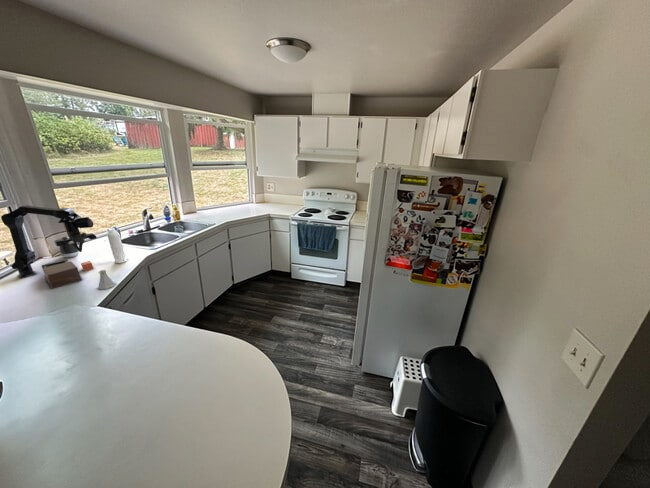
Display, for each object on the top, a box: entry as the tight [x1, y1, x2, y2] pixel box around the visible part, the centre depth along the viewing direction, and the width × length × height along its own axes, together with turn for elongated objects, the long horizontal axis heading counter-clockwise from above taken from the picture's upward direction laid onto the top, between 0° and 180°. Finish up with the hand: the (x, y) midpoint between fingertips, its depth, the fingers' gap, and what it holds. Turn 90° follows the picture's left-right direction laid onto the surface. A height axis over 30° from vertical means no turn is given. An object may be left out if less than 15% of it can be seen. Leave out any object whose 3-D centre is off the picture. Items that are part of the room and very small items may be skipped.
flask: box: [97, 269, 116, 290], centre depth 144 cm, size 7×7×10 cm
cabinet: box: [41, 260, 83, 289], centre depth 150 cm, size 15×13×9 cm
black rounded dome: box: [58, 236, 80, 258], centre depth 182 cm, size 10×10×15 cm
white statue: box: [106, 227, 127, 264], centre depth 173 cm, size 9×6×25 cm
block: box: [80, 260, 94, 272], centre depth 165 cm, size 4×4×4 cm
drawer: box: [41, 259, 69, 269], centre depth 156 cm, size 18×11×7 cm, turn 54°
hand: (80, 251), depth 161 cm, fingers closed
